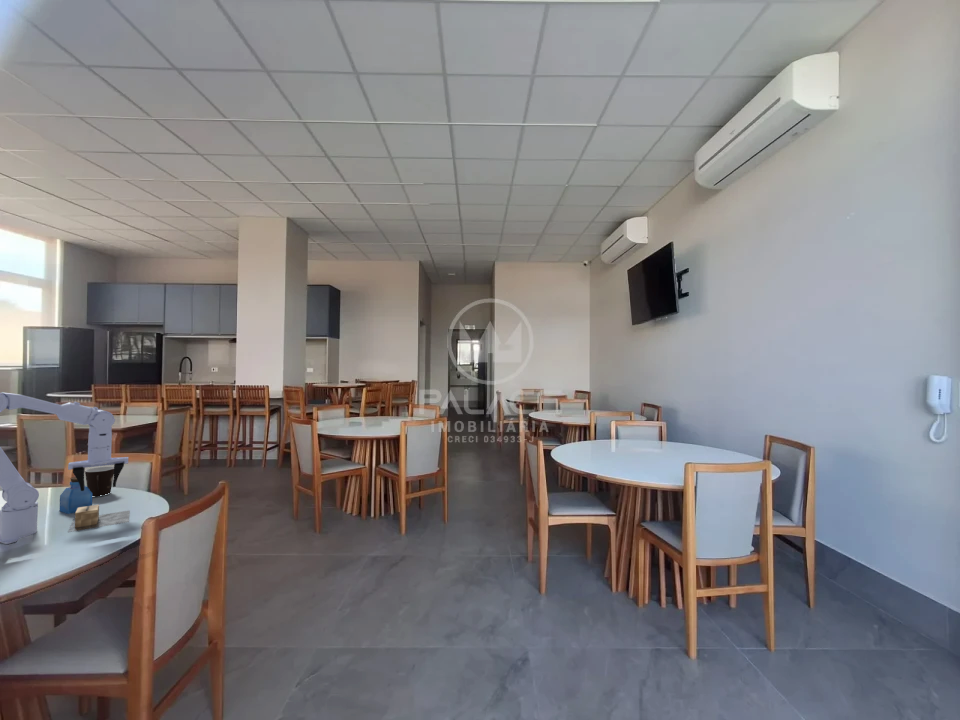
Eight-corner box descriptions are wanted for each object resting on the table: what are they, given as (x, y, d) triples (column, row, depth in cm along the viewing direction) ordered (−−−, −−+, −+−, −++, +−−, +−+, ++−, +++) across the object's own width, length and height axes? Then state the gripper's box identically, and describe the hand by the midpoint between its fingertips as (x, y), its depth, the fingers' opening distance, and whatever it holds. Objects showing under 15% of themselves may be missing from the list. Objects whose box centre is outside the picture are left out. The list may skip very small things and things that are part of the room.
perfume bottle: (91, 511, 144) (92, 476, 145) (68, 517, 139) (69, 481, 139) (82, 508, 147) (83, 474, 147) (59, 513, 141) (60, 478, 142)
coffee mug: (94, 491, 165) (95, 466, 166) (119, 491, 167) (120, 466, 167) (71, 501, 154) (72, 474, 154) (98, 500, 156) (99, 473, 156)
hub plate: (67, 535, 124) (67, 522, 124) (73, 522, 134) (73, 510, 134) (128, 524, 133) (129, 512, 133) (129, 513, 143) (130, 501, 143)
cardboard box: (74, 527, 127) (75, 512, 127) (77, 521, 132) (77, 506, 132) (96, 524, 131) (97, 509, 131) (98, 518, 135) (99, 503, 135)
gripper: (67, 451, 129) (66, 495, 129) (128, 446, 138) (127, 487, 138) (70, 447, 135) (69, 489, 134) (128, 443, 144) (127, 482, 144)
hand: (98, 488), depth 137 cm, fingers open, 7 cm apart
